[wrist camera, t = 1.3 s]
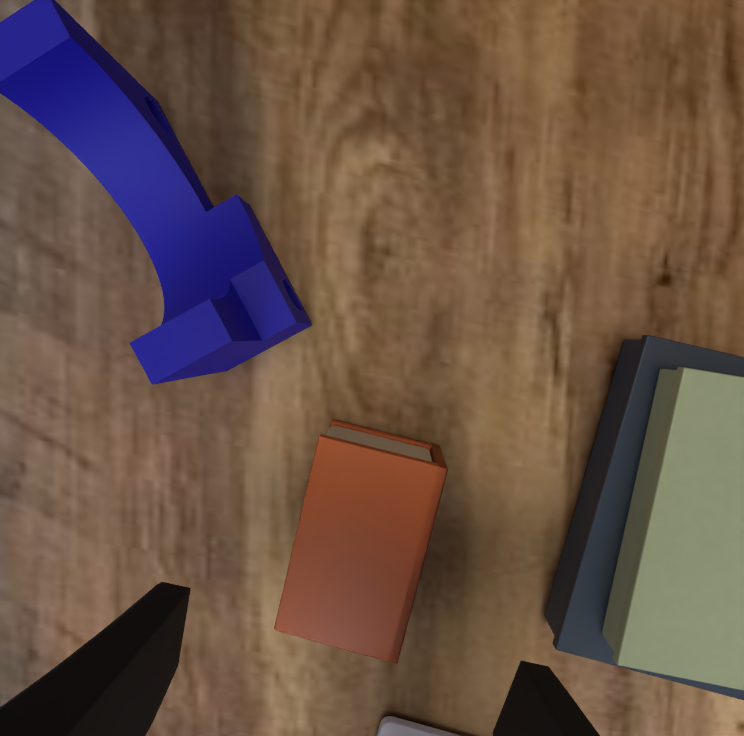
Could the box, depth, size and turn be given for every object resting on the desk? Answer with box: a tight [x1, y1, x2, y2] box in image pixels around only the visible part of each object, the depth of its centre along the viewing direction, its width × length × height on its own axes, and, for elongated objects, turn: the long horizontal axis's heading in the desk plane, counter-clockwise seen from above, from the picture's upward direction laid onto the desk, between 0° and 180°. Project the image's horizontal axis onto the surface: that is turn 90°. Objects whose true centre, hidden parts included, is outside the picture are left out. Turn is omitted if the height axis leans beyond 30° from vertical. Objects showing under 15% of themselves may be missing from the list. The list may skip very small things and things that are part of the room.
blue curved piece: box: [0, 0, 312, 384], centre depth 16 cm, size 12×4×6 cm, turn 28°
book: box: [274, 420, 448, 664], centre depth 18 cm, size 8×5×3 cm, turn 167°
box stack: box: [545, 335, 744, 700], centre depth 17 cm, size 13×10×4 cm
